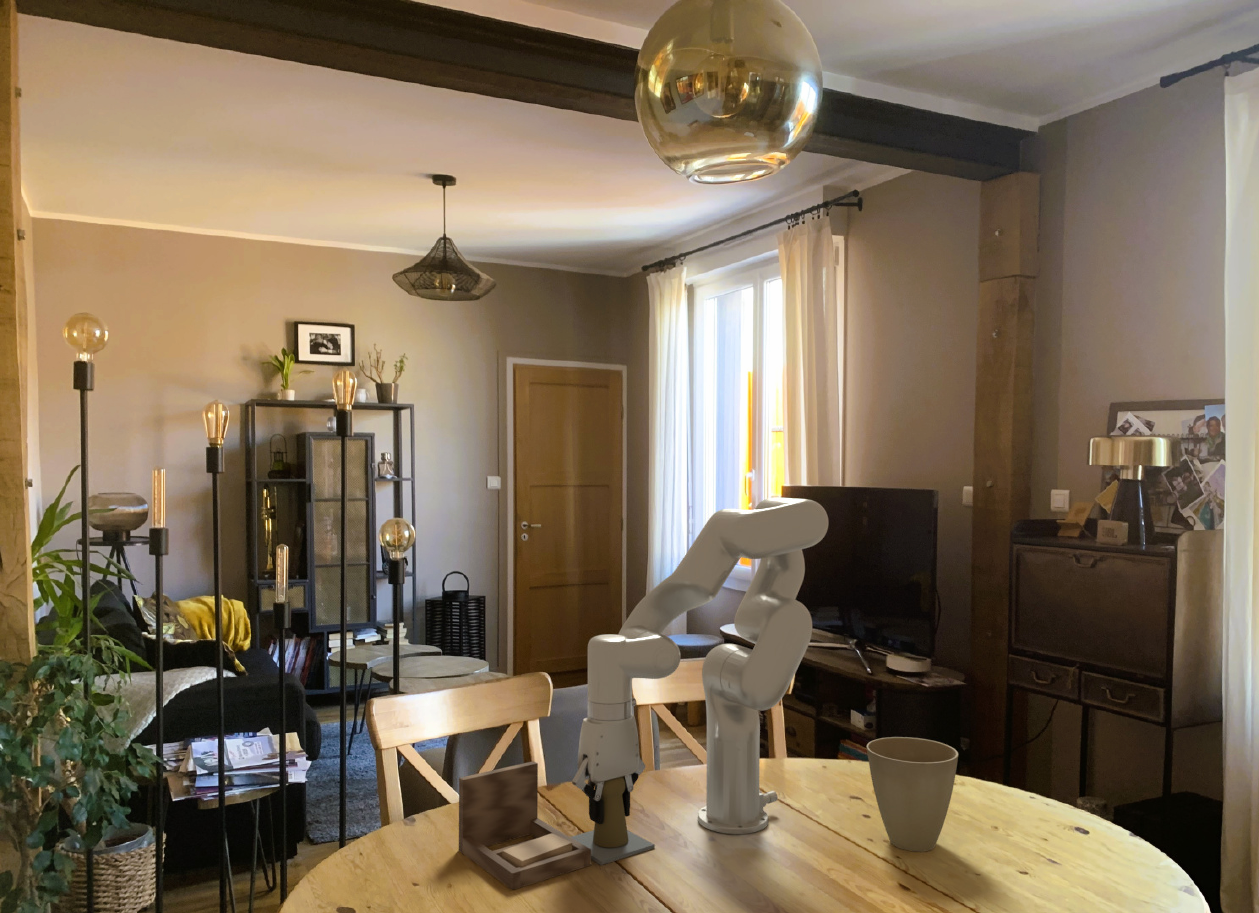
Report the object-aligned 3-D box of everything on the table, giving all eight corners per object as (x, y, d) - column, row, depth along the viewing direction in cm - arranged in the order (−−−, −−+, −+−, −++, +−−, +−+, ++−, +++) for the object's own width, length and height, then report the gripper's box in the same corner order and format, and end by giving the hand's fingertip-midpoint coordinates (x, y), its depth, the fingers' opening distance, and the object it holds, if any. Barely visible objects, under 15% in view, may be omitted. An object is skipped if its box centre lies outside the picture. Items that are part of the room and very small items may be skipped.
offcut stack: (551, 855, 150) (551, 833, 150) (572, 865, 146) (572, 842, 146) (502, 873, 143) (502, 850, 143) (522, 884, 139) (522, 861, 139)
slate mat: (615, 827, 161) (615, 823, 161) (654, 848, 152) (654, 844, 152) (563, 842, 154) (563, 839, 154) (601, 865, 146) (601, 861, 146)
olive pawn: (630, 833, 156) (629, 769, 156) (626, 848, 150) (625, 781, 150) (595, 832, 157) (594, 768, 157) (590, 847, 151) (589, 781, 151)
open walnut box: (533, 829, 160) (533, 761, 160) (590, 865, 146) (591, 790, 146) (458, 850, 151) (459, 777, 151) (512, 890, 137) (512, 810, 137)
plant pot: (972, 842, 155) (972, 748, 155) (934, 870, 144) (934, 769, 144) (891, 819, 165) (891, 731, 166) (850, 843, 154) (850, 749, 155)
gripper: (636, 697, 162) (635, 800, 161) (555, 713, 151) (555, 823, 151) (662, 706, 156) (662, 813, 156) (580, 723, 145) (580, 837, 145)
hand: (609, 816), depth 153 cm, fingers open, 4 cm apart
